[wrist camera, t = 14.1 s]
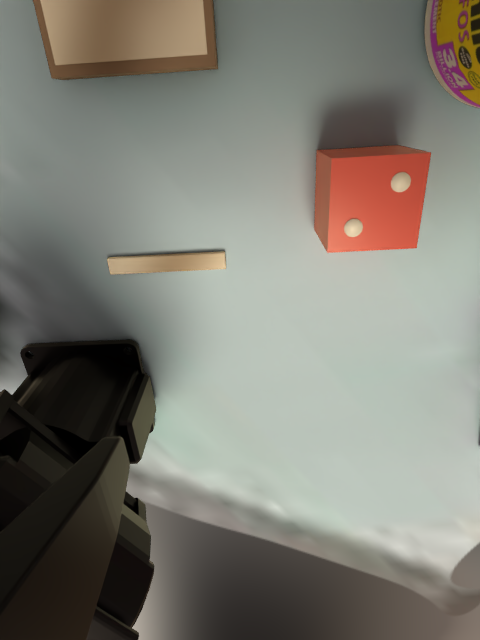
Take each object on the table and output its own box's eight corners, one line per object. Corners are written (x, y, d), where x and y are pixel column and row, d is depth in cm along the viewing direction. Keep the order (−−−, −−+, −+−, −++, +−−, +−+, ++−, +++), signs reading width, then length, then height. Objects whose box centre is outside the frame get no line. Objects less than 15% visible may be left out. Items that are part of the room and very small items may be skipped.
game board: (106, 272, 20) (99, 280, 19) (-56, -439, 11) (-87, -495, 10) (232, 266, 20) (231, 274, 19) (179, -469, 10) (172, -529, 9)
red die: (314, 229, 19) (327, 253, 16) (316, 149, 17) (331, 158, 14) (388, 225, 19) (417, 248, 16) (397, 145, 17) (431, 152, 14)
